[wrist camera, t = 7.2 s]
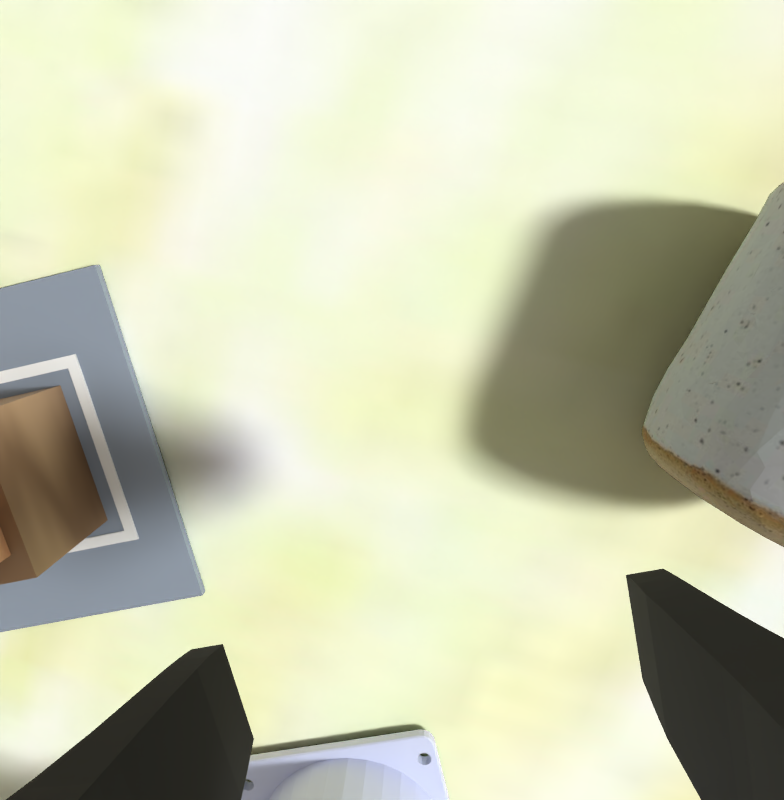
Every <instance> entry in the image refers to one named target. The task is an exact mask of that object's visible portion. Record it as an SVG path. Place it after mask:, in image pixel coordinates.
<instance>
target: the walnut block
mask: <svg viewBox="0 0 784 800" xmlns="http://www.w3.org/2000/svg"><path fill="white" fill-rule="evenodd" d="M107 520H108V519H107V516H106V514H105V511H104V508H103V505H102V502H101V499H100V496H99V494H98V491H97V488H96V485H95V482H94V479H93V477H92V474H91V471H90V468H89V465H88V462H87V460H86V457H85V454H84V451H83V448H82V445H81V442H80V440H79V437H78V434H77V431H76V428H75V425H74V423H73V420H72V417H71V414H70V411H69V408H68V406H67V403H66V400H65V397H64V394H63V391H62V388H61V386H60V385H59V386H55V387H51V388H46V389H42V390H37V391H33V392H29V393H24V394H20V395H15V396H11V397H7V398H2V399H0V528H1V530H2V533H3V536H4V538H5V541H6V543H7V546H8V548H9V551H10V553H11V555H10V556H9V557H8V558H6V559H5V560H3V561H2V562H0V585H1V584H6V583H12V582H17V581H22V580H27V579H32V578H37V577H38V576H40V575H41V574H42V573H43V572H44V571H46V570H47V569H48V568H49V567H51V566H52V565H53V564H54V563H56V562H57V561H58V560H59V559H60V558H62V557H63V556H64V555H65V554H67V553H68V552H69V551H70V550H72V549H73V548H74V547H75V546H76V545H78V544H79V543H80V542H81V541H83V540H84V539H85V538H86V537H88V536H89V535H90V534H91V533H92V532H94V531H95V530H96V529H97V528H99V527H100V526H101V525H102V524H104V523H105V522H106V521H107Z"/></svg>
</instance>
